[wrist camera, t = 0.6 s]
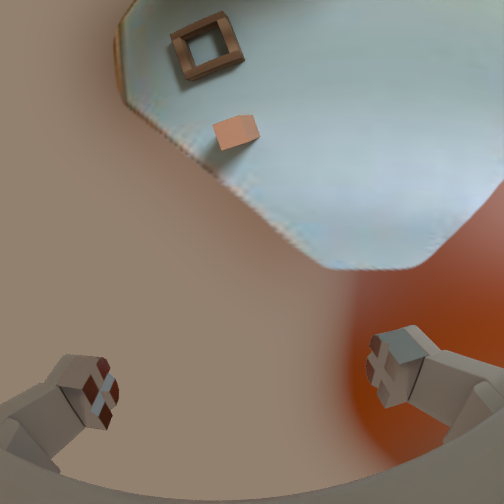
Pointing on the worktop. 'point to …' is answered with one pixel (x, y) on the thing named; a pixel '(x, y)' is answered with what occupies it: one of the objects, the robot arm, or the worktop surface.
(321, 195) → the worktop surface
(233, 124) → the salmon orange rectangular block
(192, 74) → the walnut well
